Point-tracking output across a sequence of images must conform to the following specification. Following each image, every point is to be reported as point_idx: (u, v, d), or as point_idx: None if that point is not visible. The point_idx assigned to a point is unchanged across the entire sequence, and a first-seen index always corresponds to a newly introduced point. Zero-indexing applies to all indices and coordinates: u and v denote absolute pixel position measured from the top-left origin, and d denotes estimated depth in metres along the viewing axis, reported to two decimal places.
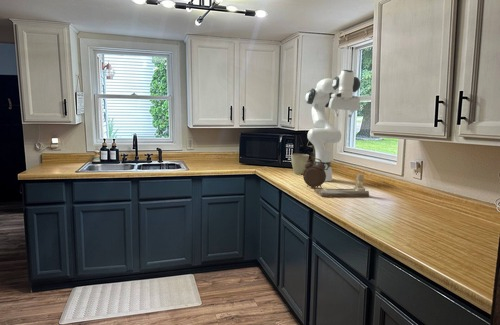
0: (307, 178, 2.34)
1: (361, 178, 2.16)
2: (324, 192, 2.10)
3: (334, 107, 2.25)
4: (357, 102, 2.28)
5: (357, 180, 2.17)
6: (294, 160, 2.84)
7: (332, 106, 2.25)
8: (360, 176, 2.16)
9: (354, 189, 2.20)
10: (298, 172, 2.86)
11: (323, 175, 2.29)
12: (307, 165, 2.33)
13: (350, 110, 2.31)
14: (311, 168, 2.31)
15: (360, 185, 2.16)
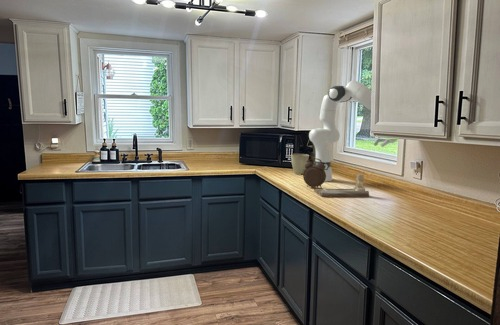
0: (307, 178, 2.34)
1: (361, 178, 2.16)
2: (324, 192, 2.10)
3: None
4: None
5: (357, 180, 2.17)
6: (294, 160, 2.84)
7: None
8: (360, 176, 2.16)
9: (354, 189, 2.20)
10: (298, 172, 2.86)
11: (323, 175, 2.29)
12: (307, 165, 2.33)
13: (378, 139, 2.26)
14: (311, 168, 2.31)
15: (360, 185, 2.16)
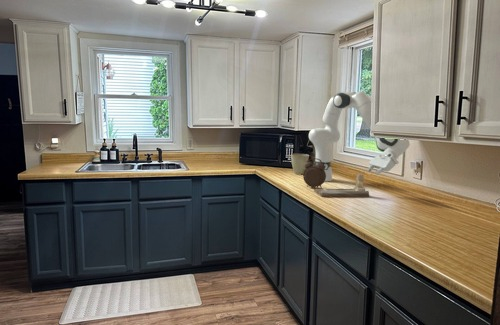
0: (307, 178, 2.34)
1: (361, 178, 2.16)
2: (324, 192, 2.10)
3: None
4: None
5: (357, 180, 2.17)
6: (294, 160, 2.84)
7: None
8: (360, 176, 2.16)
9: (354, 189, 2.20)
10: (298, 172, 2.86)
11: (323, 175, 2.29)
12: (307, 165, 2.33)
13: (372, 165, 2.23)
14: (311, 168, 2.31)
15: (360, 185, 2.16)
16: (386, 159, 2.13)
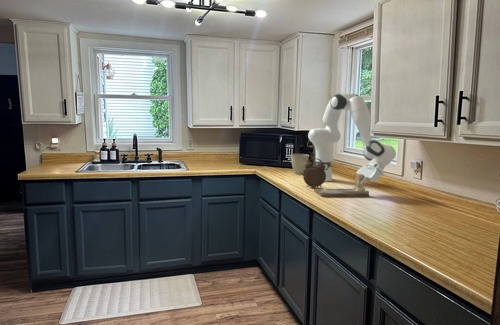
0: (307, 178, 2.34)
1: (361, 178, 2.16)
2: (324, 192, 2.10)
3: None
4: None
5: (357, 180, 2.17)
6: (294, 160, 2.84)
7: None
8: (360, 176, 2.16)
9: (354, 189, 2.20)
10: (298, 172, 2.86)
11: (323, 175, 2.29)
12: (307, 165, 2.33)
13: None
14: (311, 168, 2.31)
15: (360, 185, 2.16)
16: (372, 169, 2.13)
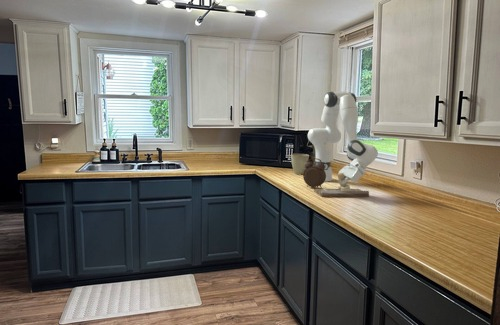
0: (307, 178, 2.34)
1: (342, 177, 2.14)
2: (324, 192, 2.10)
3: None
4: None
5: (339, 180, 2.16)
6: (294, 160, 2.84)
7: None
8: (341, 176, 2.14)
9: (339, 189, 2.18)
10: (298, 172, 2.86)
11: (323, 175, 2.29)
12: (307, 165, 2.33)
13: None
14: (311, 168, 2.31)
15: (343, 184, 2.15)
16: (354, 169, 2.11)
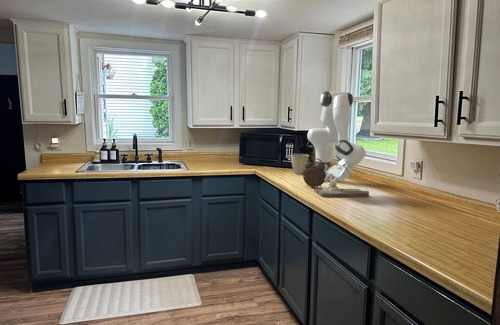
0: (307, 178, 2.34)
1: None
2: (324, 192, 2.10)
3: None
4: None
5: None
6: (294, 160, 2.84)
7: None
8: (333, 176, 2.13)
9: (327, 189, 2.17)
10: (298, 172, 2.86)
11: (323, 175, 2.29)
12: (307, 165, 2.33)
13: (329, 174, 2.19)
14: (311, 168, 2.31)
15: (333, 185, 2.14)
16: (341, 169, 2.10)
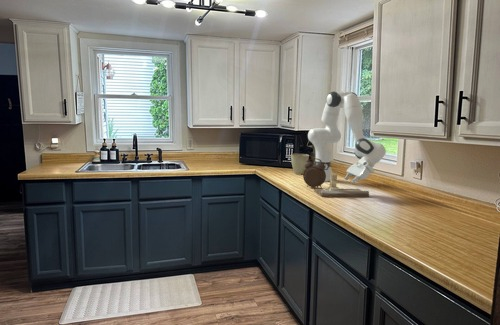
0: (307, 178, 2.34)
1: (334, 178, 2.13)
2: (324, 192, 2.10)
3: None
4: None
5: (331, 180, 2.15)
6: (294, 160, 2.84)
7: None
8: (333, 176, 2.13)
9: (327, 189, 2.17)
10: (298, 172, 2.86)
11: (323, 175, 2.29)
12: (307, 165, 2.33)
13: (349, 173, 2.22)
14: (311, 168, 2.31)
15: (333, 185, 2.14)
16: (362, 167, 2.12)
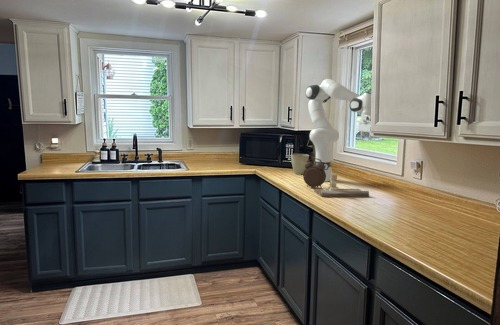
0: (307, 178, 2.34)
1: (334, 178, 2.13)
2: (324, 192, 2.10)
3: None
4: None
5: (331, 180, 2.15)
6: (294, 160, 2.84)
7: None
8: (333, 176, 2.13)
9: (327, 189, 2.17)
10: (298, 172, 2.86)
11: (323, 175, 2.29)
12: (307, 165, 2.33)
13: (361, 131, 2.33)
14: (311, 168, 2.31)
15: (333, 185, 2.14)
16: (368, 122, 2.22)
